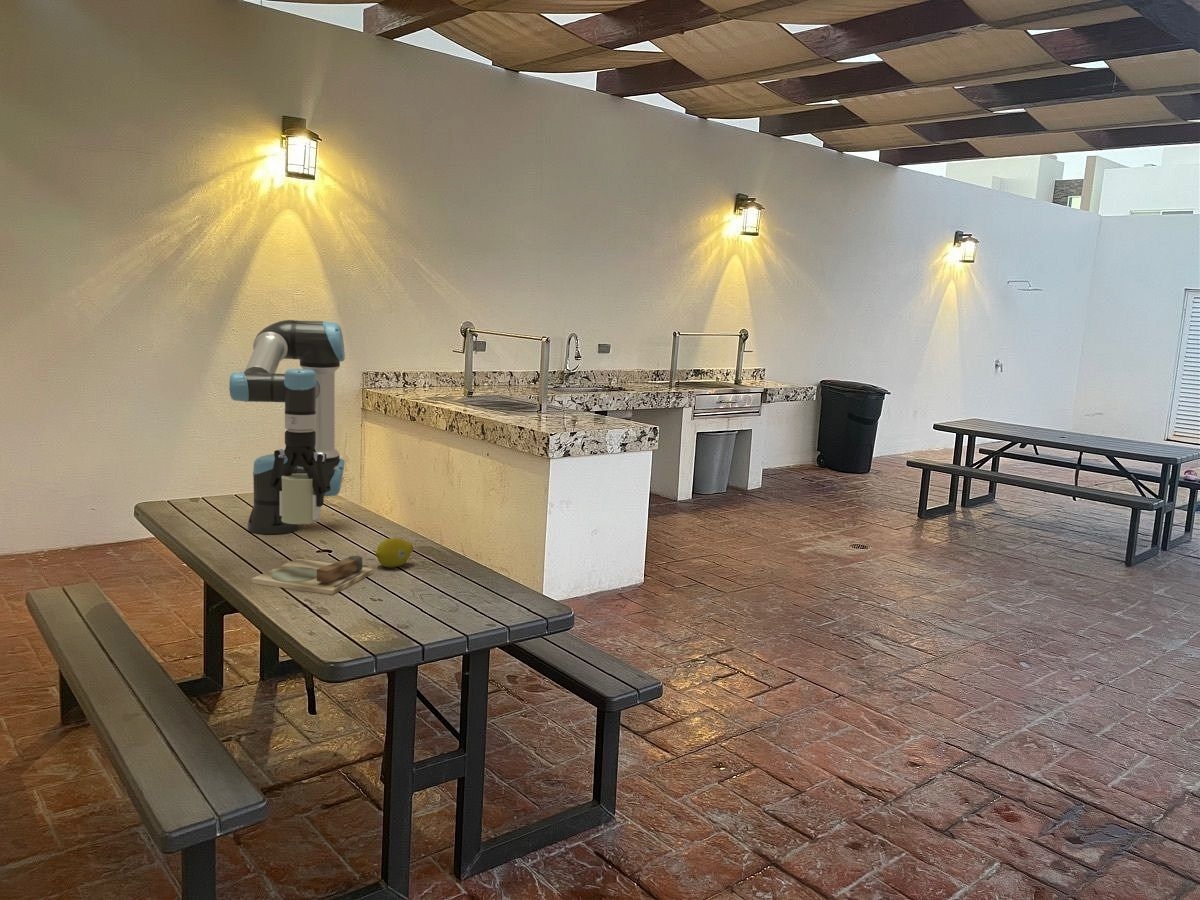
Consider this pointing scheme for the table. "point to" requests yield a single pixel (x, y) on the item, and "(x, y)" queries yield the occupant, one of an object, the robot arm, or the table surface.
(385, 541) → the lemon
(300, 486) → the can
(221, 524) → the table surface
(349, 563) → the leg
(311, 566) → the board
